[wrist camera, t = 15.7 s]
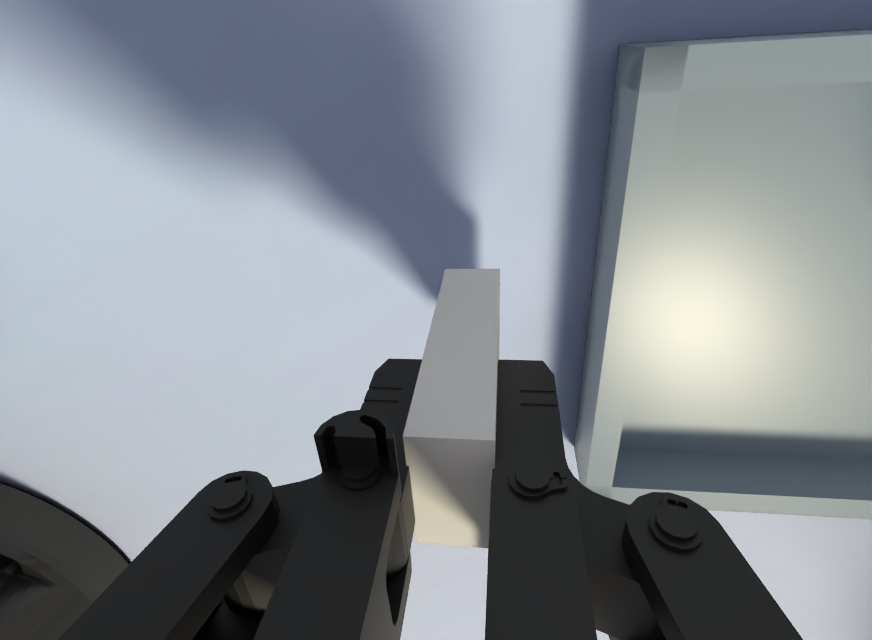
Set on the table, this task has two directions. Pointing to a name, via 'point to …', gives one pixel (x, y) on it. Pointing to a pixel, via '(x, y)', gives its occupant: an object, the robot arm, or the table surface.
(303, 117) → the table surface
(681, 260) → the tray
